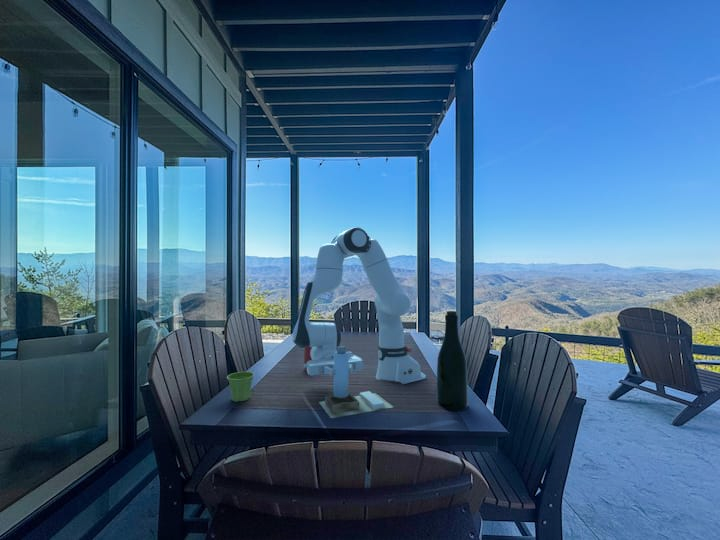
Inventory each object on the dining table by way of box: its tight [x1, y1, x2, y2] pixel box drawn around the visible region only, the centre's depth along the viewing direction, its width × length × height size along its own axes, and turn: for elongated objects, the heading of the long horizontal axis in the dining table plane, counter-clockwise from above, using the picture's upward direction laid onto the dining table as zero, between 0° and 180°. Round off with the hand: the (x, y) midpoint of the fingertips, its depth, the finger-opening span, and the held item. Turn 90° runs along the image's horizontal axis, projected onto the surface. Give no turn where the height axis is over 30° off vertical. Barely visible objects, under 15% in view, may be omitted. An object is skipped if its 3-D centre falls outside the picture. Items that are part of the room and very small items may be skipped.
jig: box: [318, 392, 394, 419], centre depth 109 cm, size 22×14×4 cm, turn 113°
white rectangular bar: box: [359, 390, 384, 409], centre depth 112 cm, size 4×12×2 cm, turn 23°
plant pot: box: [226, 371, 255, 403], centre depth 118 cm, size 9×9×9 cm
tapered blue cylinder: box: [332, 345, 350, 398], centre depth 108 cm, size 5×5×16 cm
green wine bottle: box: [436, 310, 469, 412], centre depth 112 cm, size 10×10×33 cm
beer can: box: [303, 347, 312, 372], centre depth 155 cm, size 7×7×12 cm
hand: (342, 371), depth 107 cm, fingers closed on tapered blue cylinder, 5 cm apart
